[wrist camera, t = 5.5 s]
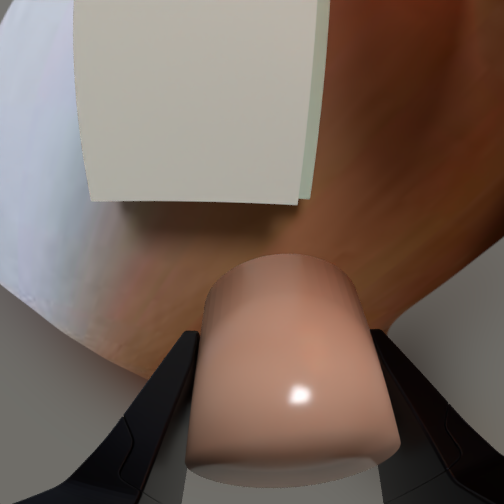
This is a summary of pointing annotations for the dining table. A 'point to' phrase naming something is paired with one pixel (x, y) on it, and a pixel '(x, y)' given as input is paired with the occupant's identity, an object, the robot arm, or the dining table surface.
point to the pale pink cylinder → (287, 379)
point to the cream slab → (193, 98)
